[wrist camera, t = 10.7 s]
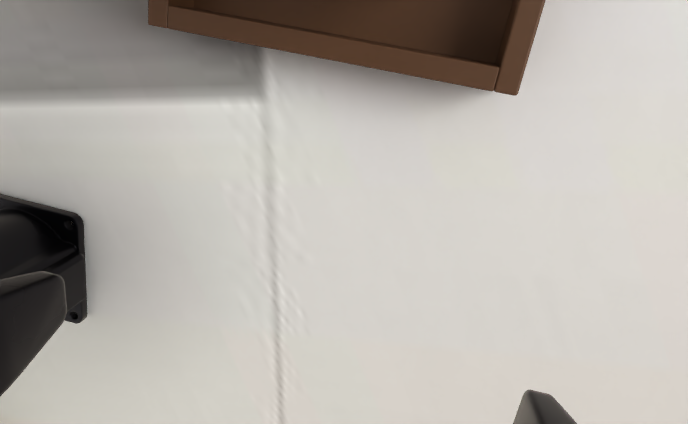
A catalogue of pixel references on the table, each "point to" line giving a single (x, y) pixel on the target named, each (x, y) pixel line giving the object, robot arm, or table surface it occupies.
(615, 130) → the table surface
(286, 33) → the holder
